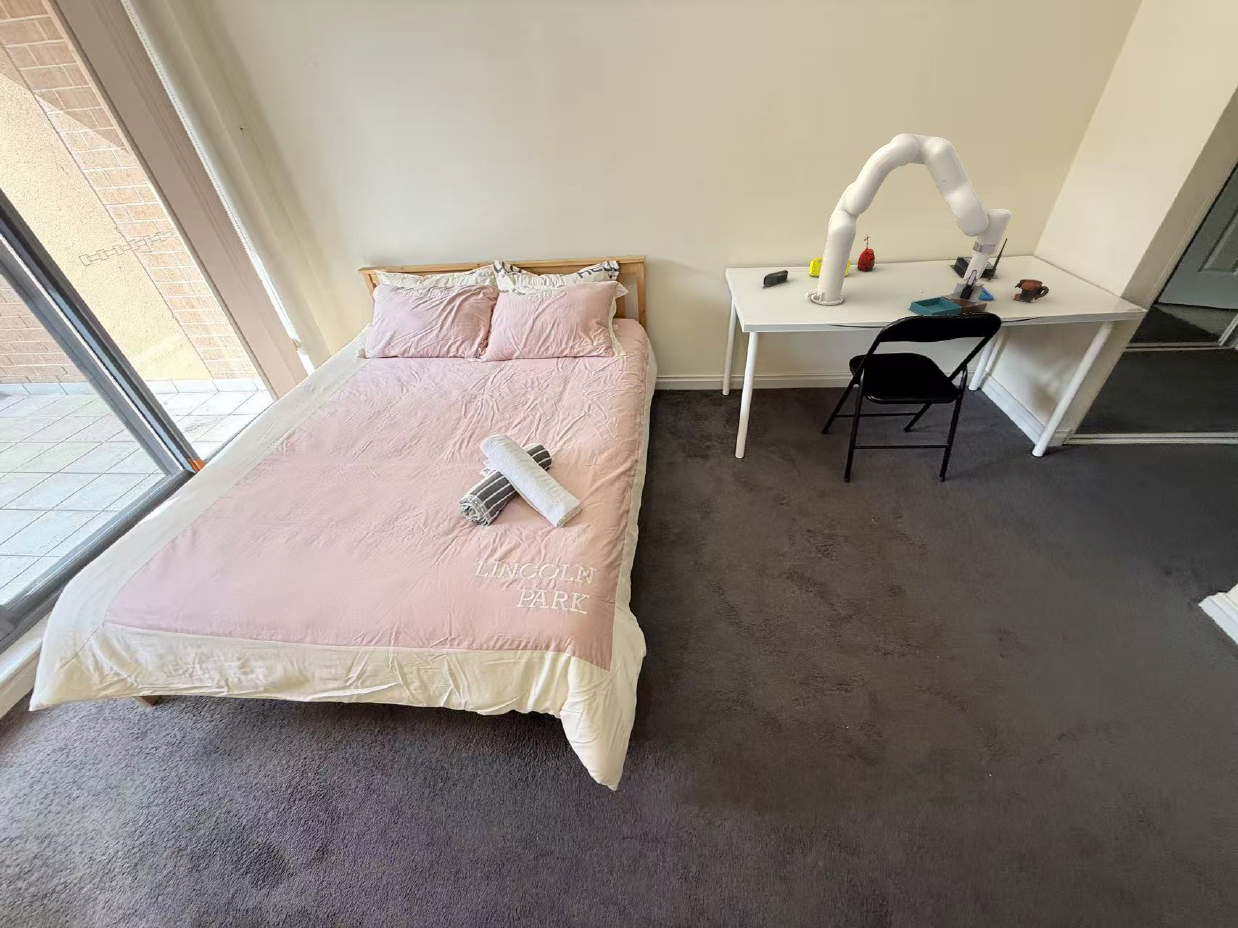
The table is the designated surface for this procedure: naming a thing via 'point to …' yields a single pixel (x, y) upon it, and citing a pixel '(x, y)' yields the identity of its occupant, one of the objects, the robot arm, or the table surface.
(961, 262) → the wireless controller
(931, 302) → the basin
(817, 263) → the yellow toy chassis
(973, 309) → the panel
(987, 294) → the handheld gaming device
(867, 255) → the red clay folk toy
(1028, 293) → the pottery mug
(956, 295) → the white block
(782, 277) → the mobile phone
